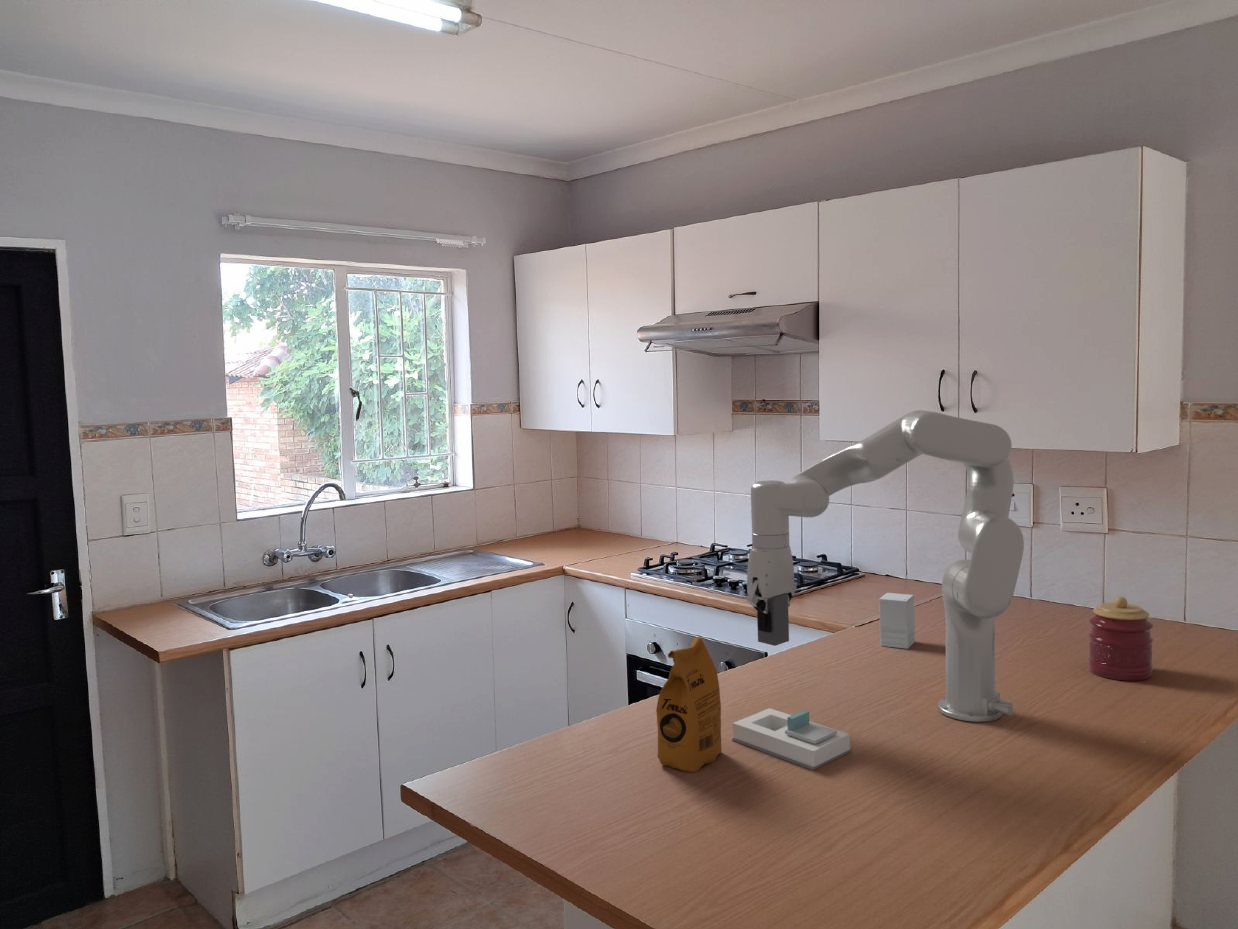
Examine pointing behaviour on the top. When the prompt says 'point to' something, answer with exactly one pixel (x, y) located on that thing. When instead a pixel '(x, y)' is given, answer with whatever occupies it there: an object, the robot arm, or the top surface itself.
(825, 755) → the socket
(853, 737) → the top surface
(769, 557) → the robot arm
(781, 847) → the top surface
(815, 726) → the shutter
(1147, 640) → the canister
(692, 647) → the coffee package
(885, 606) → the supplement box
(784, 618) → the plug
